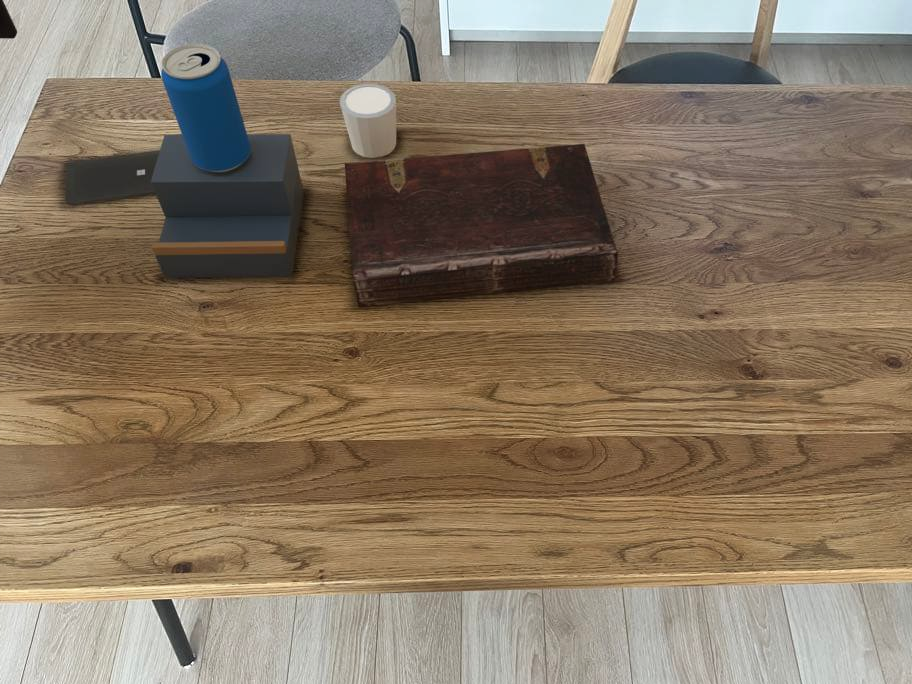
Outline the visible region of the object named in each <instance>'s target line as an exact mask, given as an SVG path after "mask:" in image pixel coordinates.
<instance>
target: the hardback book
mask: <svg viewBox="0 0 912 684" xmlns="http://www.w3.org/2000/svg"><path fill="white" fill-rule="evenodd" d="M344 176H345V177H344V178H345V189H346V201H347V202H346V204H347V215H348V216H347V217H348V227H349V241H350V242H349V243H350V254H351V268H352V269H351V270H352V280H353V286H354V287H353V288H354V292H355V296H356V302H357V307H361V308H362V307H370V306H380V305H388V304H389V305H390V304H400V303H409V302H419V301H427V300H437V299H439V300H440V299H449V298H456V297H457V298H458V297H467V296H475V295H476V296H478V295H485V294H495V293H505V292H514V291H515V292H517V291H524V290H526V291H527V290H535V289H543V288H554V287H562V286H563V287H565V286H573V285H582V284H584V285H585V284H591V283H603V282H604V283H605V282H612V281H615V279H616V273H617V269H618V268H617V267H618V259H619V257H618V256H619V252H618V250H617V246H616V242H615V240H614V236H613V233H612V230H611V226H610V223H609V220H608V216H607V213H606V210H605V206H604V203H603V200H602V197H601V194H600V191H599V188H598V187H599V186H598V184H597V180H596V177H595V174H594V171H593V168H592V163H591V161H590V158H589V154H588V151H587V147H586V145H585V143H579V144H565V145H551V146H542V147H541V146H540V147H529V148H517V149H515V148H514V149H503V150H502V149H501V150H492V151H490V150H489V151H480V152H479V151H478V152H466V153H454V154H453V153H452V154H441V155H431V156H429V155H428V156H418V157H405V158H393V159H382V160H381V159H379V160H367V161H358V162H345V163H344Z"/></svg>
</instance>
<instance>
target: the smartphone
mask: <svg viewBox="0 0 912 684" xmlns="http://www.w3.org/2000/svg"><path fill="white" fill-rule="evenodd" d="M159 152H160V150H154V151H147V152H146V151H145V152H138V153H130V154H122V155H116V156H115V155H113V156H107V157H99V158H93V159H86V160H84V159H83V160H77V161H72V162H70V163H68V164H67V166H66V170H65V171H66V174H65V193H64V201H65V203H66V204H67V205H68V206H78V205H84V204H85V205H86V204H93V203H100V202H106V201H115V200H121V199H122V200H123V199H128V198H129V199H130V198H135V197H141V196H142V197H143V196H150V195H156V193H155V191H154V189H153V186H152V184H151V180H152V176H153V173H154V170H155V166H156V163H157V159H158V156H159Z"/></svg>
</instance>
